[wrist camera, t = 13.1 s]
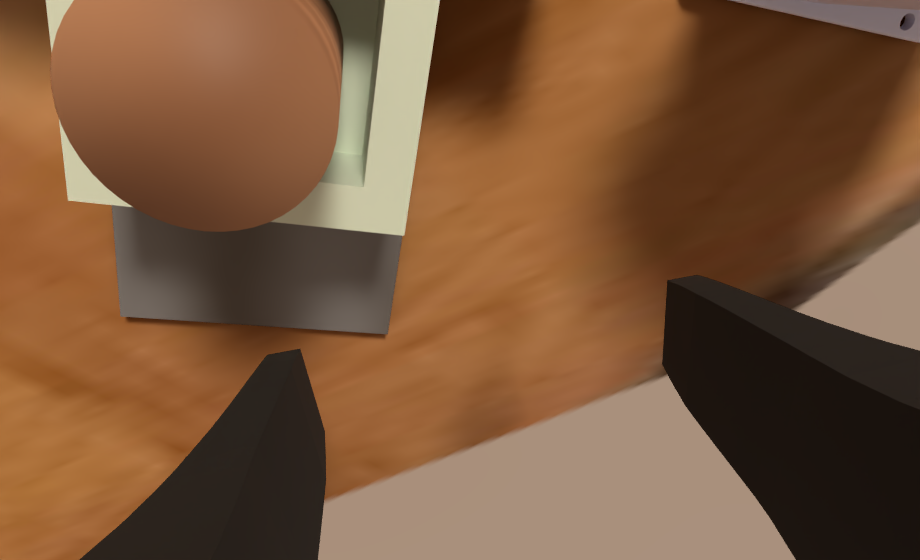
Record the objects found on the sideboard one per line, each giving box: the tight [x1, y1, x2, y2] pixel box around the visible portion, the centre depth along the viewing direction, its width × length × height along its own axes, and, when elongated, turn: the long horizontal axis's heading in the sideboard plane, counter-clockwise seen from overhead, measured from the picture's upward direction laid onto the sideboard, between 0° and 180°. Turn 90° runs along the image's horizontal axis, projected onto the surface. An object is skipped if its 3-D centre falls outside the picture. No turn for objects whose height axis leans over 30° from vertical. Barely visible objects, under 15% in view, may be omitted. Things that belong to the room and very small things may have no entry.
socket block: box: [46, 0, 440, 236], centre depth 15 cm, size 8×8×4 cm
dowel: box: [50, 0, 344, 232], centre depth 12 cm, size 4×4×8 cm
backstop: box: [112, 205, 402, 334], centre depth 15 cm, size 15×16×6 cm
